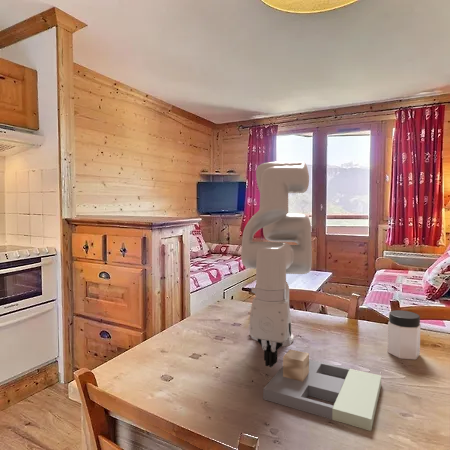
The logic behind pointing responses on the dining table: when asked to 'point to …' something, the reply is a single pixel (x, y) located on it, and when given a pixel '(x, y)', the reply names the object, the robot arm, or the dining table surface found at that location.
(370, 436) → the dining table surface
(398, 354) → the jar
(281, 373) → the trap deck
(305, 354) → the birch block
